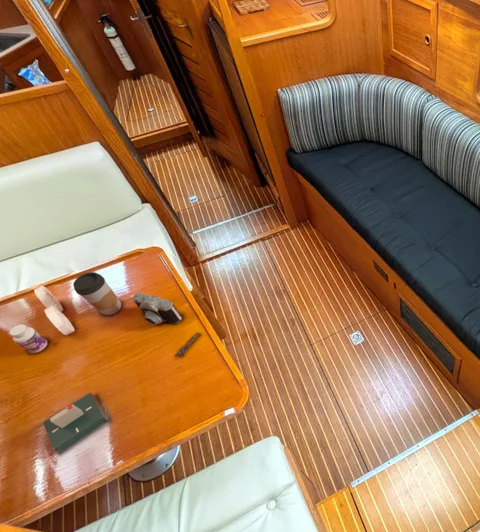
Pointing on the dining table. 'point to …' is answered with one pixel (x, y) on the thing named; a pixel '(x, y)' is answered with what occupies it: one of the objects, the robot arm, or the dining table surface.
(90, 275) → the coffee cup
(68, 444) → the green switch panel
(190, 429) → the dining table surface
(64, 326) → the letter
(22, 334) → the pill bottle
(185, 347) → the can opener
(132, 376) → the dining table surface
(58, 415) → the tap handle
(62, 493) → the dining table surface
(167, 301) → the camera
